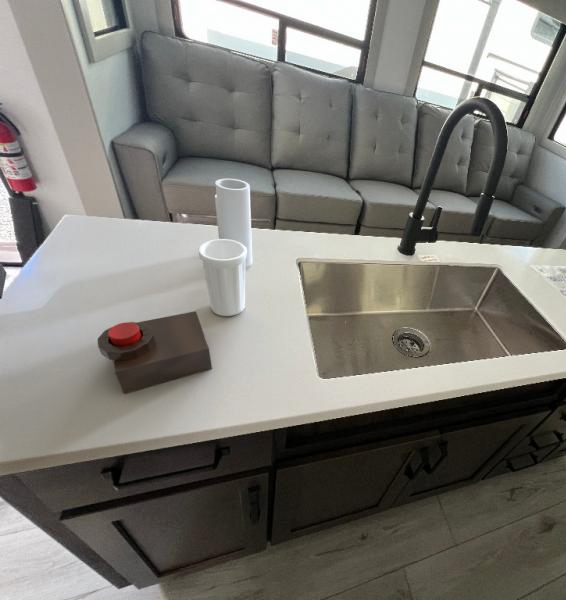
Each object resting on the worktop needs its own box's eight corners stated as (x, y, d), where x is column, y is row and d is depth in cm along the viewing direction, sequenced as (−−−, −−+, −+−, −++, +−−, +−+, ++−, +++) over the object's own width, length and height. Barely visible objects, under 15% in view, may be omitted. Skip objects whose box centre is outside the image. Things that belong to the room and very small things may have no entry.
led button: (112, 349, 48) (108, 341, 47) (110, 333, 50) (107, 325, 49) (142, 343, 50) (140, 334, 49) (139, 328, 52) (137, 319, 51)
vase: (253, 268, 82) (251, 191, 70) (221, 269, 79) (212, 188, 67) (250, 245, 89) (247, 172, 78) (220, 245, 86) (212, 169, 75)
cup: (210, 295, 71) (202, 236, 63) (251, 296, 74) (248, 240, 65) (203, 320, 65) (193, 259, 57) (247, 320, 68) (244, 262, 59)
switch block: (113, 397, 49) (99, 366, 45) (109, 351, 55) (96, 320, 51) (212, 368, 57) (207, 340, 53) (199, 331, 63) (194, 303, 59)
